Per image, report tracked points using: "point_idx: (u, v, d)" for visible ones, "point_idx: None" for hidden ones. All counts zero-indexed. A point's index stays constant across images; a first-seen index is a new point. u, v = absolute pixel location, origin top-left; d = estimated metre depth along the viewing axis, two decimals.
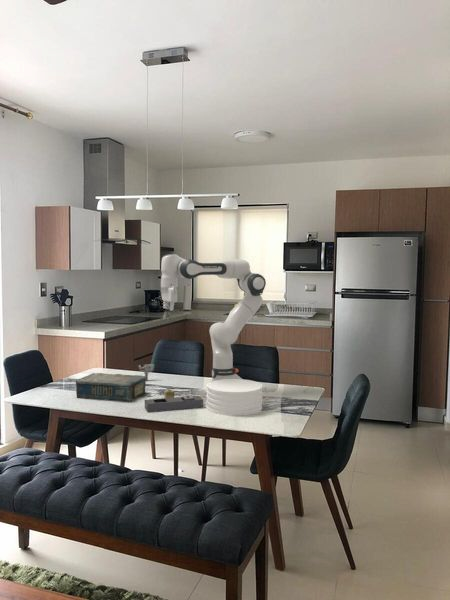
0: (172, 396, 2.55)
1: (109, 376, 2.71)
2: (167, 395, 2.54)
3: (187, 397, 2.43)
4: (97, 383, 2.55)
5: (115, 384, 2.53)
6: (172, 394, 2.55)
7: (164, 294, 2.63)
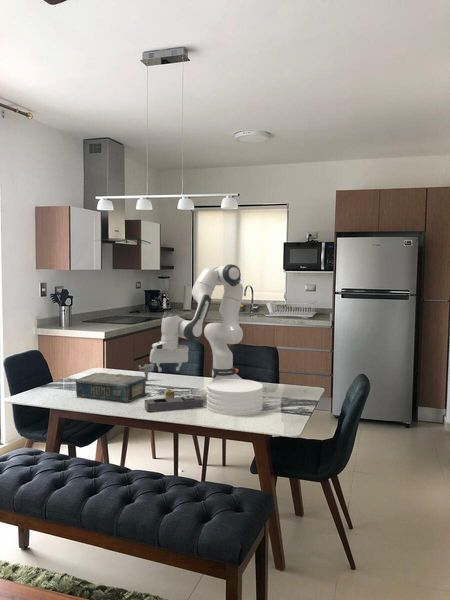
0: (172, 396, 2.55)
1: (110, 376, 2.71)
2: (167, 395, 2.54)
3: (187, 397, 2.43)
4: (95, 383, 2.56)
5: (112, 384, 2.52)
6: (172, 394, 2.55)
7: (162, 356, 2.53)
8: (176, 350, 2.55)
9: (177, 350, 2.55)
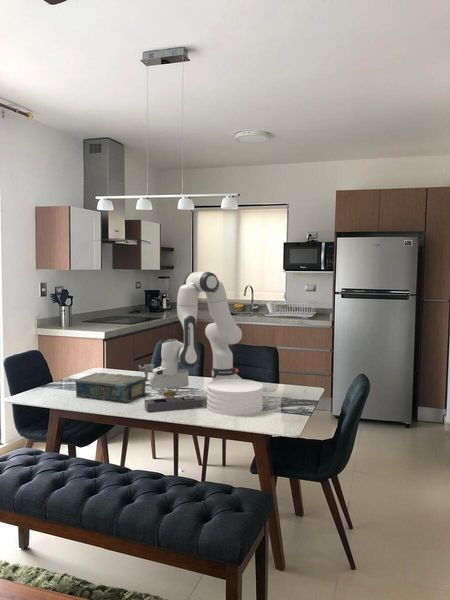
0: (172, 396, 2.55)
1: (110, 376, 2.71)
2: (167, 395, 2.54)
3: (187, 397, 2.43)
4: (95, 383, 2.56)
5: (112, 384, 2.52)
6: (172, 394, 2.55)
7: (163, 381, 2.54)
8: (176, 375, 2.56)
9: (177, 375, 2.56)
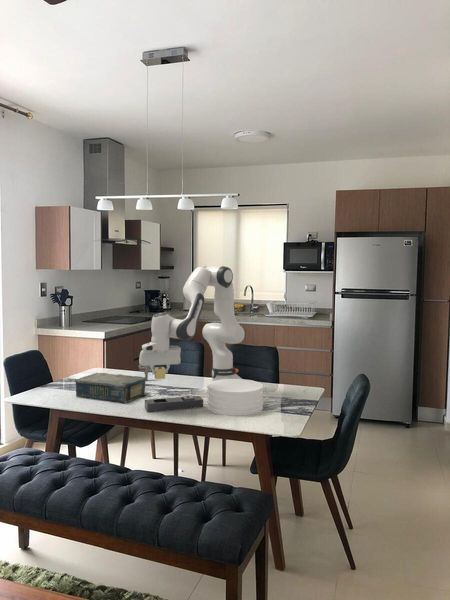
0: (163, 374, 2.38)
1: (110, 376, 2.71)
2: (157, 372, 2.37)
3: (187, 397, 2.43)
4: (94, 383, 2.55)
5: (111, 385, 2.51)
6: (163, 371, 2.38)
7: (153, 358, 2.36)
8: (167, 351, 2.38)
9: (168, 351, 2.38)
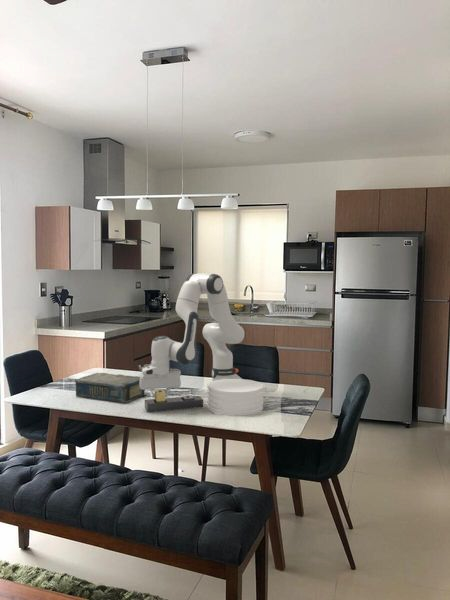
0: (163, 397, 2.38)
1: (110, 376, 2.70)
2: (157, 396, 2.37)
3: (187, 397, 2.43)
4: (94, 383, 2.55)
5: (110, 385, 2.51)
6: (163, 395, 2.38)
7: (153, 382, 2.36)
8: (167, 375, 2.39)
9: (168, 375, 2.39)
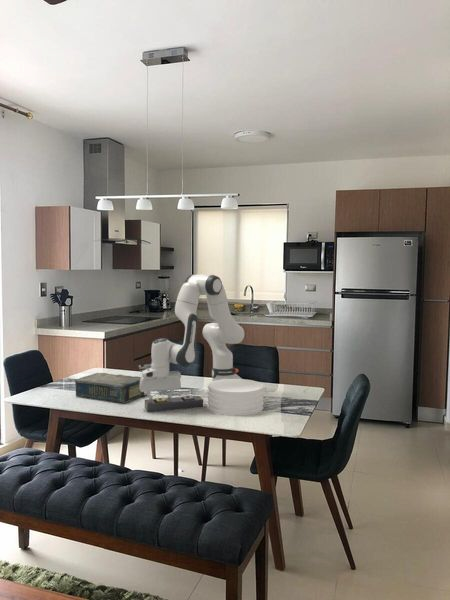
0: None
1: (110, 376, 2.70)
2: None
3: (187, 397, 2.43)
4: (93, 383, 2.55)
5: (109, 385, 2.51)
6: None
7: (153, 384, 2.37)
8: (167, 377, 2.39)
9: (168, 377, 2.39)
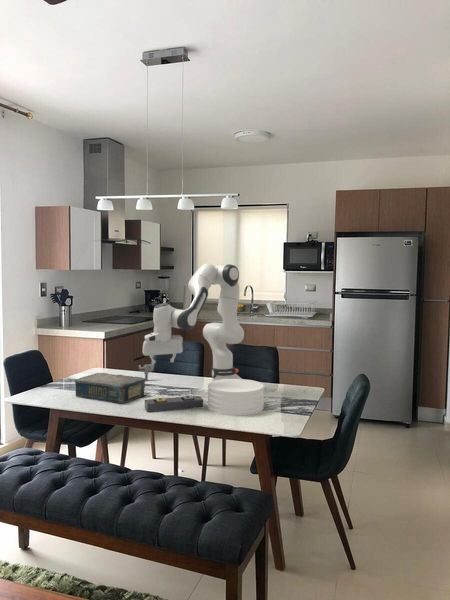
0: None
1: (110, 376, 2.70)
2: None
3: (187, 397, 2.43)
4: (93, 383, 2.55)
5: (109, 385, 2.51)
6: None
7: (156, 348, 2.42)
8: (170, 341, 2.45)
9: (171, 341, 2.45)
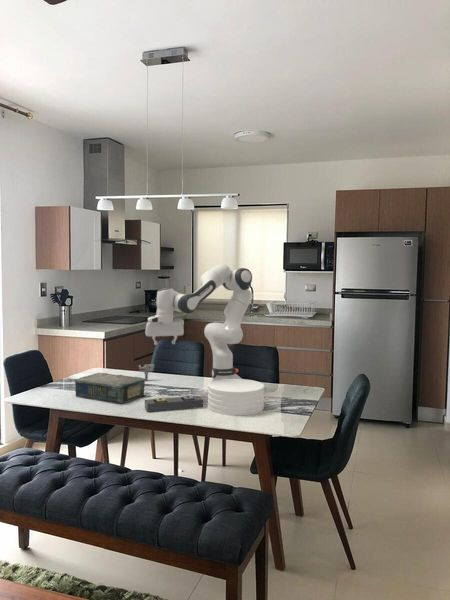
0: None
1: (110, 376, 2.70)
2: None
3: (187, 397, 2.43)
4: (92, 383, 2.55)
5: (108, 385, 2.50)
6: None
7: (158, 329, 2.54)
8: (171, 323, 2.56)
9: (172, 323, 2.56)
